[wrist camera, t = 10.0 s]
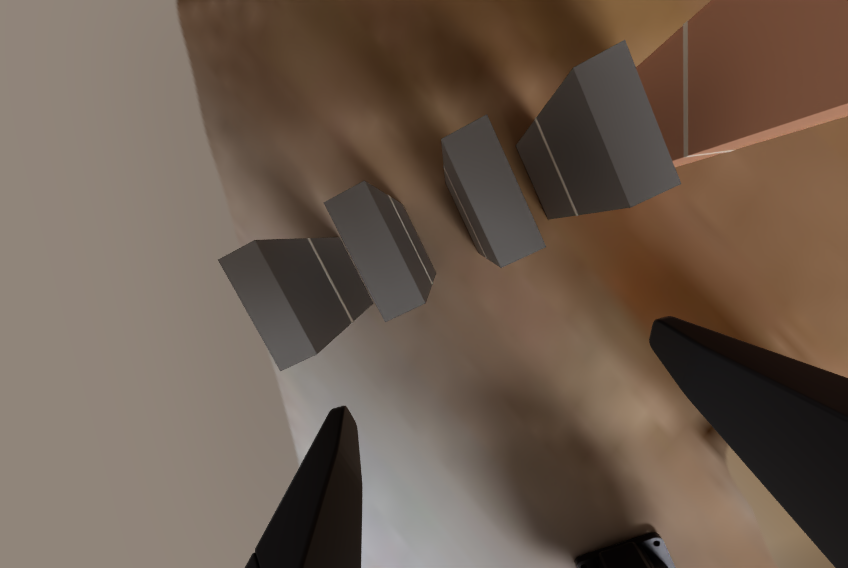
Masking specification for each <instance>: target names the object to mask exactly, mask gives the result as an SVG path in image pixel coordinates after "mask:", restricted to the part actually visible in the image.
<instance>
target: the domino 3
mask: <svg viewBox="0 0 848 568" xmlns="http://www.w3.org/2000/svg"><path fill="white" fill-rule="evenodd" d="M441 142H442V153H443V163H444V166H443V167H444V173H445V182H446V185H447V187H448V189H449V191H450V193H451V195H452V197H453V200H454V202H455V204H456V206H457V208H458V210H459V212H460V214H461V217H462V219H463V221H464V223H465V225H466V227H467V229H468V231H469V234H470V236H471V238H472V240H473V242H474V244H475V246H476V248H477V251H478V253H480V254H481V255H483V256H484V257H486V259H488V260H490V261H491V262H493V263H494V264H496V265H497V266H499V267H500V268H502V267H504V266H506V265H508V264H511V263H513V262H515V261H517V260H519V259H521V258H523V257H526V256H528V255H530V254H532V253H534V252H536V251H538V250H541V249H543V248H545V247H546V246H545V243H544V241H543V239H542V237H541V234H540V232H539V230H538V228H537V225H536V223H535V221H534V219H533V216H532V214H531V212H530V210H529V207H528V205H527V203H526V201H525V198H524V196H523V194H522V192H521V189H520V187H519V185H518V183H517V181H516V178H515V176H514V174H513V172H512V169H511V167H510V165H509V163H508V160H507V158H506V156H505V154H504V151H503V149H502V147H501V145H500V142H499V140H498V138H497V136H496V133H495V131H494V129H493V127H492V124H491V122H490V120H489V118H488V115H485V116H483V117H481V118H479V119H477V120H475V121H474V122H472V123H470V124H468V125H466V126H464V127H463V128H461V129H459V130H457V131H455V132H453V133H451V134H450V135H448V136H446V137H444V138H442V139H441Z"/></svg>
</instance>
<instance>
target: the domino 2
mask: <svg viewBox="0 0 848 568" xmlns="http://www.w3.org/2000/svg"><path fill="white" fill-rule="evenodd" d="M324 204H325V206H326V208H327V210H328V212H329V214H330V216H331V218H332V220H333V222H334V224H335V226H336V228H337V230H338V232H339V234H340V236H341V238H342V239H343V241H344V243H345V245H346V247H347V249H348V251H349V253H350V255H351V257H352V259H353V261H354V263H355V265H356V267H357V269H358V271H359V273H360V274H361V276H362V278H363V280H364V282H365V284H366V286H367V288H368V290H369V292H370V294H371V296H372V298H373V300H374V302H375V304H376V306H377V308H378V309H379V311H380V313H381V315H382V317H383V319H384V321H385V322H387V321H389V320H391V319H393V318H395V317H397V316H399V315H402V314H404V313H406V312H408V311H410V310H412V309H414V308H417V307H419V306H421V305H423V304H425V303H426V300H427V298H428V295H429V292H430V289H431V286H432V285H433V281H434V278H435V275H436V272H435V270H434V268H433V266H432V264H431V261H430V259H429V257H428V255H427V253H426V251H425V249H424V247H423V245H422V243H421V241H420V239H419V237H418V235H417V233H416V231H415V229H414V227H413V225H412V223H411V220H410V218H409V216H408V214H407V212H406V210H405V208H404V206H403V204H401V203H400V202H398V201H396V200H395V199H393V198H392V197H390V196H389V195H387V194H385V193H384V192H382V191H380V190H379V189H377V188H376V187H374V186H372V185H371V184H369V183H368V182H366V181H363V182H361V183H359V184H357V185H355V186H353V187H352V188H350V189H348V190H346V191H344V192H342V193H341V194H339V195H337V196H335V197H333V198H331V199H329V200H328V201H326V202H324Z"/></svg>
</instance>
